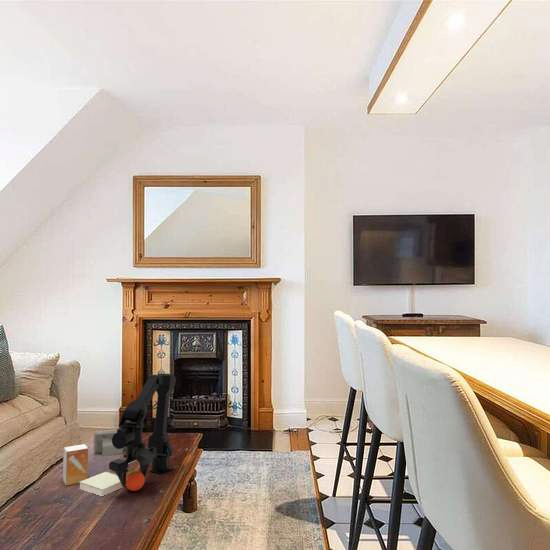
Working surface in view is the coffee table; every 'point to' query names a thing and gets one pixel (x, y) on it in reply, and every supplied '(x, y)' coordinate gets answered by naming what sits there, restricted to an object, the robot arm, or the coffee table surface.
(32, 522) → the coffee table surface
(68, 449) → the small box
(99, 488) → the book
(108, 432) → the digital clock
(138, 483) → the clementine
